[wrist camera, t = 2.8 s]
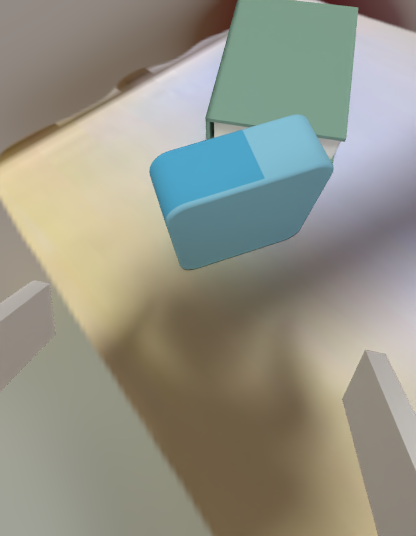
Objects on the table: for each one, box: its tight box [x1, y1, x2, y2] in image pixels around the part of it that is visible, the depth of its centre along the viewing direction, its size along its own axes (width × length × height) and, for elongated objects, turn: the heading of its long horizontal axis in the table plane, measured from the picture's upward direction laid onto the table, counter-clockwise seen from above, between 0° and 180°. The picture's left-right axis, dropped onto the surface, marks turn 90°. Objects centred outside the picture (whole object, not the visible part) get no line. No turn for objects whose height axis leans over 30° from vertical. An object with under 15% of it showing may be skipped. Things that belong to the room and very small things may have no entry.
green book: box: [206, 0, 358, 163], centre depth 36 cm, size 14×19×4 cm
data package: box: [150, 114, 333, 270], centre depth 26 cm, size 12×4×12 cm, turn 108°
